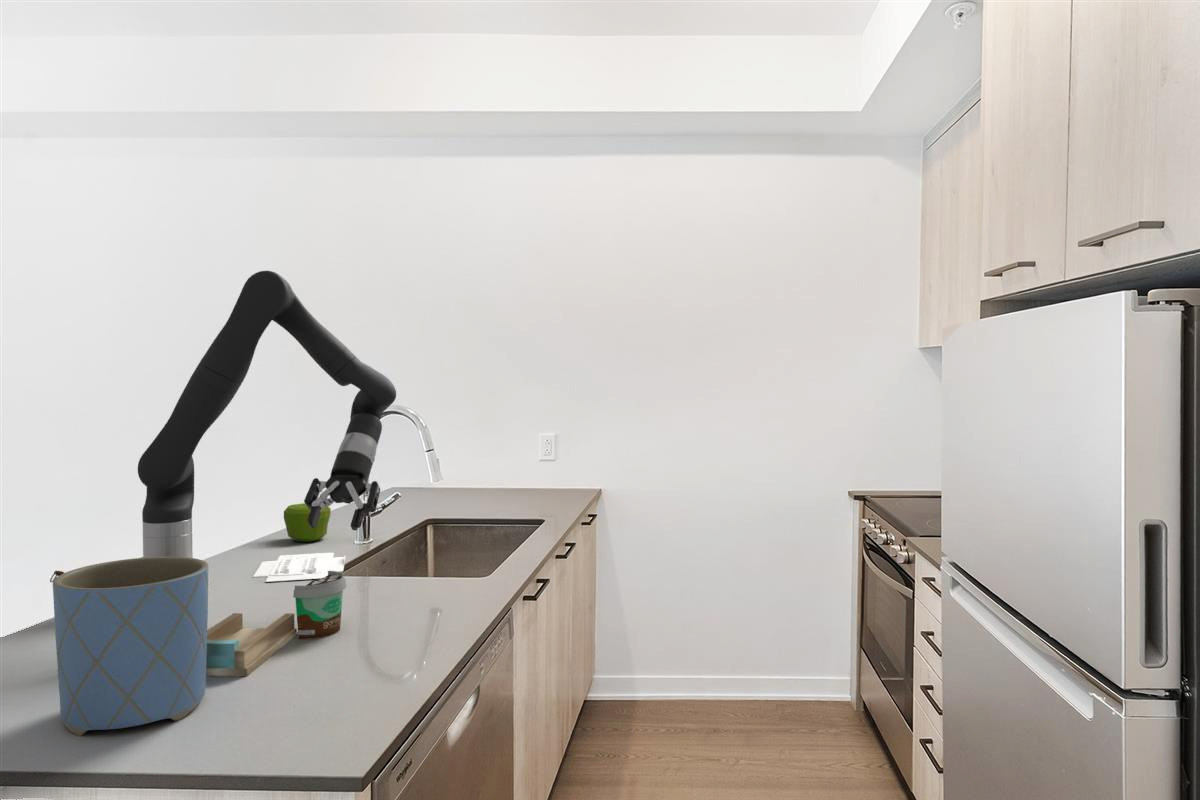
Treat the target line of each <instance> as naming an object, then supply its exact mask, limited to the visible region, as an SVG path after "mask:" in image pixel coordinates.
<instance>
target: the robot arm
mask: <svg viewBox="0 0 1200 800" xmlns="http://www.w3.org/2000/svg"><path fill="white" fill-rule="evenodd" d="M271 322H274V323H276V324H277V325H279V326H280V327H281V328H282V329H284V330H285V331H286V332H288V333H289V334H290V335H291V336H292V337H293V338H294V339H295V340H296V341H297V342H298V343H299V345H300V346H301V347H302V348H303V349H304V350H305V352H307V354H308V355H309V356H310V357H311V359H312V360H313V361H314V362H315V364H317V365H318V366H319V367H320V368H321V369H322V370H323V371H324V372H325V373H326V374H327V375H328V376H329V377H330V378H331V379H332V380H333V381H335V382H336V384H338V385H339V386H342V387H347V386H349V385H353V386H355V387H356V388H358V389H359V391H357V393H356V394H355V396H354V399H353V401H352V404H351V410H350V416H349V417H350V419H349V424H348V426H347V429H346V431H345V433H344V434H345V435H344V437H343V439H342V441H341V443H340V445H339V448H338V452H337V453H336V457H335V460H334V461H333V465H332V468H331V471H330V477H329V478H328V479H327V481H323V480H319V478H317V477H314V478H313V479H312V481H311V483H310V485H309V488H308V491H307V493H306V495H305V498H304V500H303V502H304V503H305V504H306V505H307V507H308V508H309V509H311V511H310V514H309V517H308V523H309V525H310V526H311V528H316V526H317V523H318V520H319V517H320V514H321V512H320V511H322V510H323V509H324V508H325V507H327V506H328V507H330V506H331V505H333V503H335V504H343V503H344V504H351V503H353V502H354V504H355V506H356V508H357V509H354V513H353V515H352V519H351V523H350V528H351V530H352V531H358V529H360V528H361V526H362V524H363V520H364V517H365V515H366V514H368V513H375V512H376V510H377V507H378V502H379V498H380V493H381V487H380V485H379V483H378V481H376V480H373V481H372V482H371V483H368V480H369V478H370V475H371V471H372V468H373V464H374V463H375V457H376V454H377V448H378V445H379V442H380V438H381V434H382V431H383V425H382V421H381V417H382V415H383V413H384V412H385V411H386V410H387V409H388V408H389V407H390V406H391V405H392V404H393V403H394V402H395V401H396V397H397V390H396V387H395V385H394V384H393V382H392V381H391V380H390V379H389V378H388V377H387V376H385V374H383V373H381V372H380V371H378V370H376V369H374V368H373V367H371V366H369V365H368V364H366V363H364V362H362V361H361V360H360V359H359V358H358V357H357V356H356V355H355V354H354V353H353V352H352V351H351V350H350V349H349V348H348V347H347V346H346V345H345V344H344V343H343V342H342V341H340V339H339V338H337V337H336V336H335V335H334V334H333V333H331V332H330V331H329V330H328V329H327V328H326V327H325V326H323V325H322V324H321V323H320V322H319V321H318V320H317V319H316V318H315V317H314V316H313V314H311V313H310V311H309V310H308V309H307V307H305V306H304V304H303V303H302V302H301V300H300V299H299V298H298V296H297V295H296V293H295V292H294V291H293V288H292V286H291V285H290V283H289V282H288V281H287V280H286V279H285V278H284V277H283V276H282V275H280V273H279V274H278V273H277V272H275V271H273V270H271V271H270V270H260V271H257V272H255V273H253V274H252V275H250V277H248V278H247V279H246V281H245V283H244V284H243V287H242V288H241V292H240V293H239V296H238V297H237V300H236V302H235V304H234V306H233V309H232V310H231V313H230V315H229V317H228V319H227V321H226V322H225V324H224V326H223V327H222V329H220V330H219V333H218V334H217V336H216V337H215V338H214V340H213V342H212V343H211V345H210V346H208V349H207V350H206V352H205V353H204V355H203V357H202V358H201V360H200V361H199V363H198V364H197V366H196V367H195V369H194V371H193V373H192V374H191V376H190V378H189V380H188V382H187V383H186V385H185V387H184V389H183V390H182V393H181V394H180V396H179V398H178V400H177V402H176V405H175V406H174V408H173V411H172V412H171V414H170V417H169V418H168V420H167V421H166V423H165V424H164V426H163V427H162V429H161V430H160V432H159V433H158V434H157V435H156V436H155V438H154V439H153V440H152V442H151V443H150V445H148V447H147V448H146V449H145V451H144V452H143V453H142V455H141V457H140V458H139V461H138V462H137V463H138V464H137V474H138V478H139V480H140V481H141V483H142V485H144V486H145V487H146V496H145V501H144V502H145V503H144V505H143V508H142V511H141V513H142V515H141V516H142V556H141V557H140V558H147V557H188V558H193V506H194V501H195V463H194V457H193V455H194V452H195V451H196V448H197V447H198V444H200V443H199V442H201V439H202V438H203V436H205V433H207V431H208V430H209V429H210V428H211V426H212V425H213V424H214V423H215V422H216V421H217V419H218V418H220V417H221V415H222V414H223V412H224V411H225V410H226V408H227V407H228V406H229V405H230V403H231V402H232V401H233V400H234V397H235V396H236V394H237V393H238V391H239V389H240V387H241V385H242V384H243V382H244V381H245V378H246V376H247V375H248V372H249V369H250V366H251V363H252V361H253V358H254V355H255V352H256V348H257V346H258V343H259V341H260V339H261V338H262V336H263V334H264V332H265V331H266V329H267V328H268V327H269V325H270V324H271ZM324 489H325V490H324ZM323 490H324V491H323ZM365 492H367V493H368V497H367V500H366V501H367V502H366V503H363V501H362V500H361V499H362V498H360V497H361V496H362V495H364V493H365ZM328 497H329V498H328Z"/></svg>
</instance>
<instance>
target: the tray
mask: <svg viewBox="0 0 1200 800" xmlns="http://www.w3.org/2000/svg"><path fill="white" fill-rule="evenodd" d="M334 555H335V553H334V552H317V553H303V554H300V553H299V554H282V555H279V556H278V558H277V559H276V560H271V561H267V560H266V561H262V562H261V563H260V564H259V566H258V568H257V570H256V571H255V573H254V575H253V576H252V578H266V580H265V582H264V583H266V582H286V581H298V580H299V581H300V580H312V579H313V580H317V579H322V578H324V577H326V576H328V571H336V572H340V573H344V569H345V564H346V556H337V557H336V556H335V557H334Z"/></svg>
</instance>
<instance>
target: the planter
mask: <svg viewBox="0 0 1200 800" xmlns="http://www.w3.org/2000/svg"><path fill="white" fill-rule="evenodd" d="M54 578H55V577H54ZM54 578H53V579H54ZM53 579H52V580H53ZM52 593H53V594H52V595H53V596H52V597H53V613H54V615H53V616H54V635H55V646H56V647H55V648H56V649H55V650H56V662H57V663H56V664H57V677H58V692H59V707H60V716H61V720H62V722H63V723H64V726H65V727H66V728H67V730H69V731H70V732H71V733H72V734H74V735H77V736H84V735H86V733H87V732H88V731H93V730H94V731H97V730H98V731H99V730H102V731H105V730H117V729H118V730H119V729H124V728H131V727H136V726H141V725H146V724H151V723H153V722H156V721H157V722H158V721H162V720H165V719H171V720H172V721H174V722H178V721H180V720H182V719H183V718H185V717H186V716H187V715H188V714H190V713H191V712H192V711H193V710H194V709H195V708H196V707H197V705H199V703H200V702H201V701H202V699H203V697H204V696H205V694H206V693H205V692H206V687H207V686H206V685H207V676H206V655H207V630H208V621H209V620H208V619H209V616H208V613H209V563H208V562H206V561H205V560H202V559H198V558H188V557H147V558H141V557H138V558H137V557H136V558H128V559H119V560H113V561H112V560H111V561H106V562H105V561H104V562H100V563H96V564H91V565H85V566H82V567H78V568H75V569H72V570H69V571H66V572H64V573H63V574H61V575H59V576H57V577H56V578H55V579H54V580H53V582H52Z"/></svg>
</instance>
